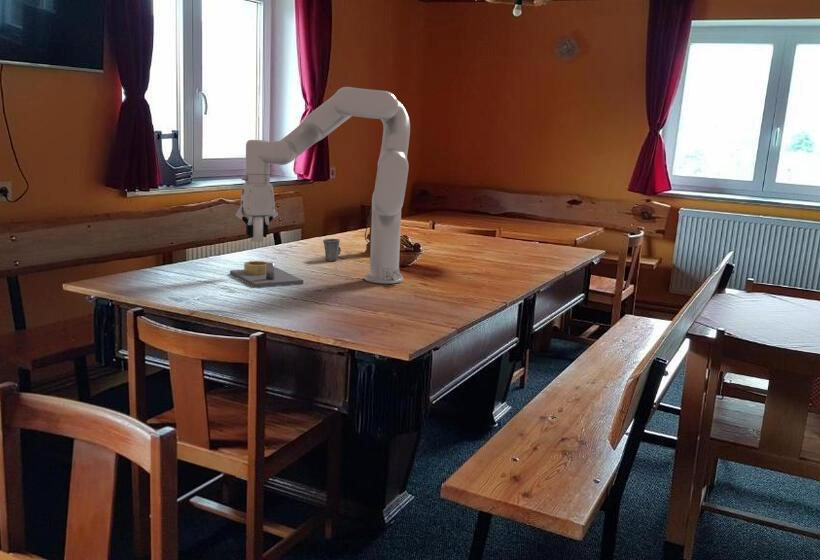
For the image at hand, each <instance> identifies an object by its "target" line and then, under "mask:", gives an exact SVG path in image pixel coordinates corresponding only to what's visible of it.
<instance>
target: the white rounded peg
mask: <svg viewBox="0 0 820 560" xmlns="http://www.w3.org/2000/svg"><path fill="white" fill-rule="evenodd" d="M263 222H264V216H253V218H252V225H253V237H252V238H250V242H254V243H255V242H256V243H261V242H264V237H263Z"/></svg>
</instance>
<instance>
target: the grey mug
mask: <svg viewBox="0 0 820 560" xmlns="http://www.w3.org/2000/svg"><path fill="white" fill-rule="evenodd" d="M322 241H323V242H322V243H323V246H324V255H325V261H327V262H336V261H337V260H338V259H339V255H340V254H341V252H342V251H341V249H342V248H341V247H340V241H341V240H340V239H339V238H327V239H323V240H322Z"/></svg>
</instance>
